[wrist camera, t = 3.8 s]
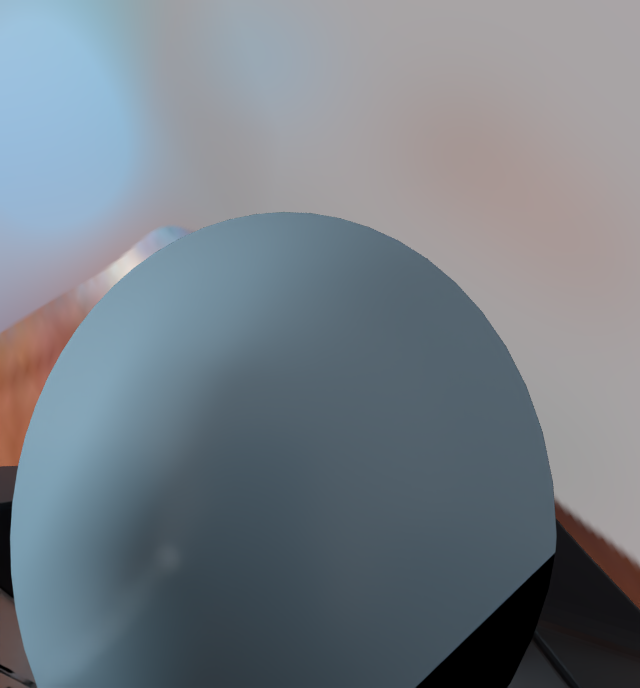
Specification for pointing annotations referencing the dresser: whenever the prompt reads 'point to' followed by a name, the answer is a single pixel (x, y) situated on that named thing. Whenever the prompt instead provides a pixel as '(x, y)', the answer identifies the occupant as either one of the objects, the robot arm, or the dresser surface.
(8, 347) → the dresser surface
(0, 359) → the dresser surface
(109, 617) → the lidded container
